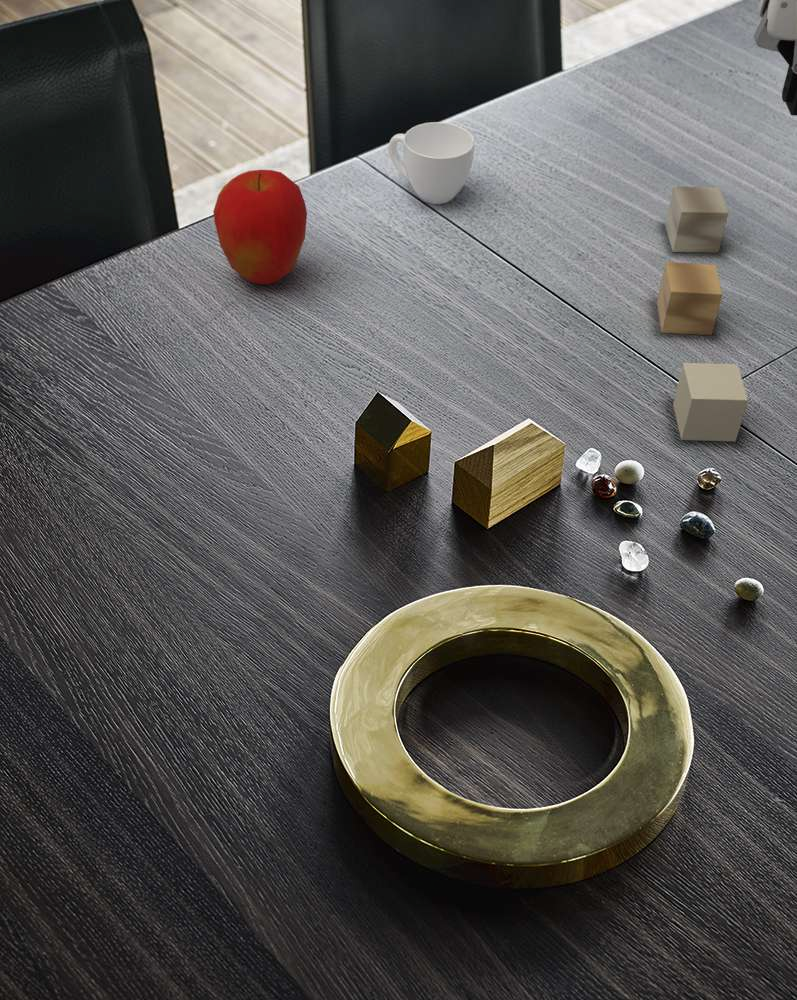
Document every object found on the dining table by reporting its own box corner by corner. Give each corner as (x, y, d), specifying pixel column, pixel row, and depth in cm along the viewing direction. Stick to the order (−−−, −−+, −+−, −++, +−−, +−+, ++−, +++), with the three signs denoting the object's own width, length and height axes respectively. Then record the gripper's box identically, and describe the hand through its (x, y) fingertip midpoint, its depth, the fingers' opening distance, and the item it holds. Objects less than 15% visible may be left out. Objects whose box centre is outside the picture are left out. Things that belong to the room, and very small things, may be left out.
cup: (450, 220, 137) (454, 165, 132) (371, 193, 141) (372, 139, 136) (482, 188, 142) (487, 134, 137) (405, 163, 145) (407, 109, 141)
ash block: (709, 227, 138) (719, 187, 134) (718, 253, 134) (728, 212, 131) (664, 226, 138) (673, 186, 134) (672, 252, 134) (681, 211, 131)
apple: (280, 240, 133) (276, 138, 125) (325, 283, 128) (324, 179, 120) (202, 267, 130) (193, 163, 121) (246, 312, 125) (239, 206, 116)
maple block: (705, 305, 128) (716, 264, 124) (711, 335, 124) (722, 294, 121) (656, 302, 128) (665, 261, 124) (661, 332, 124) (670, 291, 121)
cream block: (726, 405, 117) (738, 363, 113) (735, 442, 113) (748, 400, 110) (672, 404, 117) (683, 362, 113) (680, 440, 113) (691, 398, 110)
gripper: (928, -112, 106) (866, 92, 119) (752, -117, 106) (709, 87, 119) (955, -79, 101) (887, 131, 114) (770, -85, 101) (723, 126, 114)
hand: (796, 108), depth 116 cm, fingers closed
